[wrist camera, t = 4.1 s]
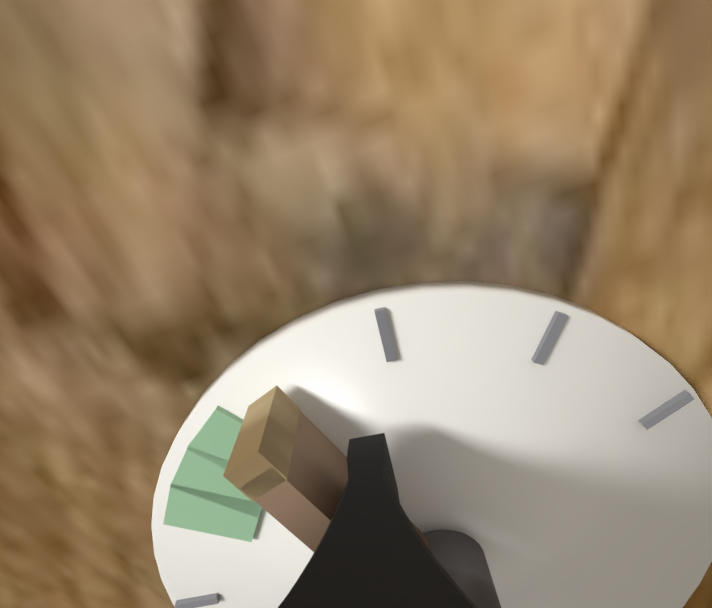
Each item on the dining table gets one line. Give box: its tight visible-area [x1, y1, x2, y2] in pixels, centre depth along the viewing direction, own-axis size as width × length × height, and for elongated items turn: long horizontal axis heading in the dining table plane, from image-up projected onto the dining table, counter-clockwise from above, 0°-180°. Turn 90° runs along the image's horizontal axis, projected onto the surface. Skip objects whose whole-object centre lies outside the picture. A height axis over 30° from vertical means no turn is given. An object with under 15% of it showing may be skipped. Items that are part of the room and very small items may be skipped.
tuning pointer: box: [223, 385, 501, 608], centre depth 13 cm, size 11×3×3 cm, turn 38°
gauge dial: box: [151, 281, 712, 608], centre depth 16 cm, size 20×20×1 cm
